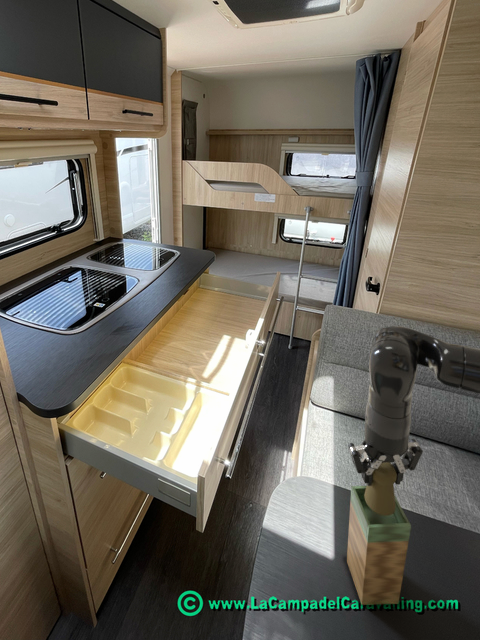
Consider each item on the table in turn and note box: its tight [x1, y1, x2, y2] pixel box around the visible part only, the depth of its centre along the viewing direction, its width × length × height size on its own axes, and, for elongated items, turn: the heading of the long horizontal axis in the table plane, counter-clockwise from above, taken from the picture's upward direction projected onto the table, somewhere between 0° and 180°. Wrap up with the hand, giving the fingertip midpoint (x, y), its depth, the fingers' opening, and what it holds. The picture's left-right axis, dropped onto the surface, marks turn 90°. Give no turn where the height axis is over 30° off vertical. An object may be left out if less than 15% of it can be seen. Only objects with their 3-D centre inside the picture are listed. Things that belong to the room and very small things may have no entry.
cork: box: [364, 462, 397, 516], centre depth 70 cm, size 6×6×11 cm
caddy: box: [346, 485, 412, 606], centre depth 77 cm, size 9×9×30 cm
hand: (381, 480), depth 69 cm, fingers closed on cork, 5 cm apart
